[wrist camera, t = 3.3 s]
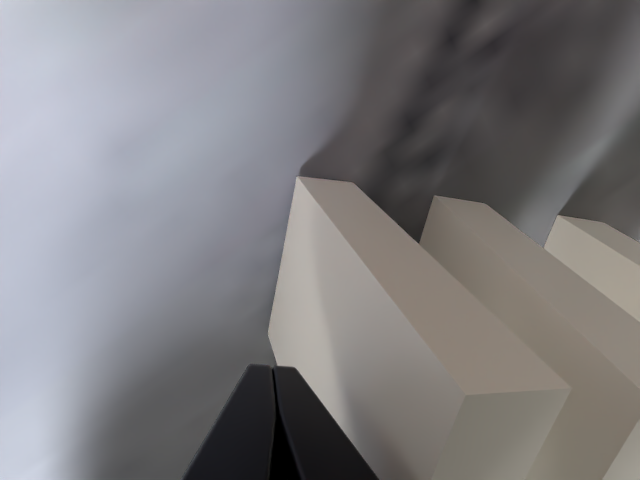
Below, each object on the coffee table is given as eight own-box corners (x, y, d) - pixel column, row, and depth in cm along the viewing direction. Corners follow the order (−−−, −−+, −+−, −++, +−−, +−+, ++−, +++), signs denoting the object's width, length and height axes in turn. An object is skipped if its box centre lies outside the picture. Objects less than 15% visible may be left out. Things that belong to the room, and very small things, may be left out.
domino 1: (317, 333, 15) (450, 621, 8) (267, 333, 14) (363, 644, 7) (352, 182, 13) (571, 387, 6) (296, 176, 12) (466, 395, 5)
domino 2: (434, 343, 15) (592, 623, 8) (389, 339, 15) (511, 626, 8) (485, 203, 13) (750, 407, 6) (434, 195, 13) (650, 399, 6)
